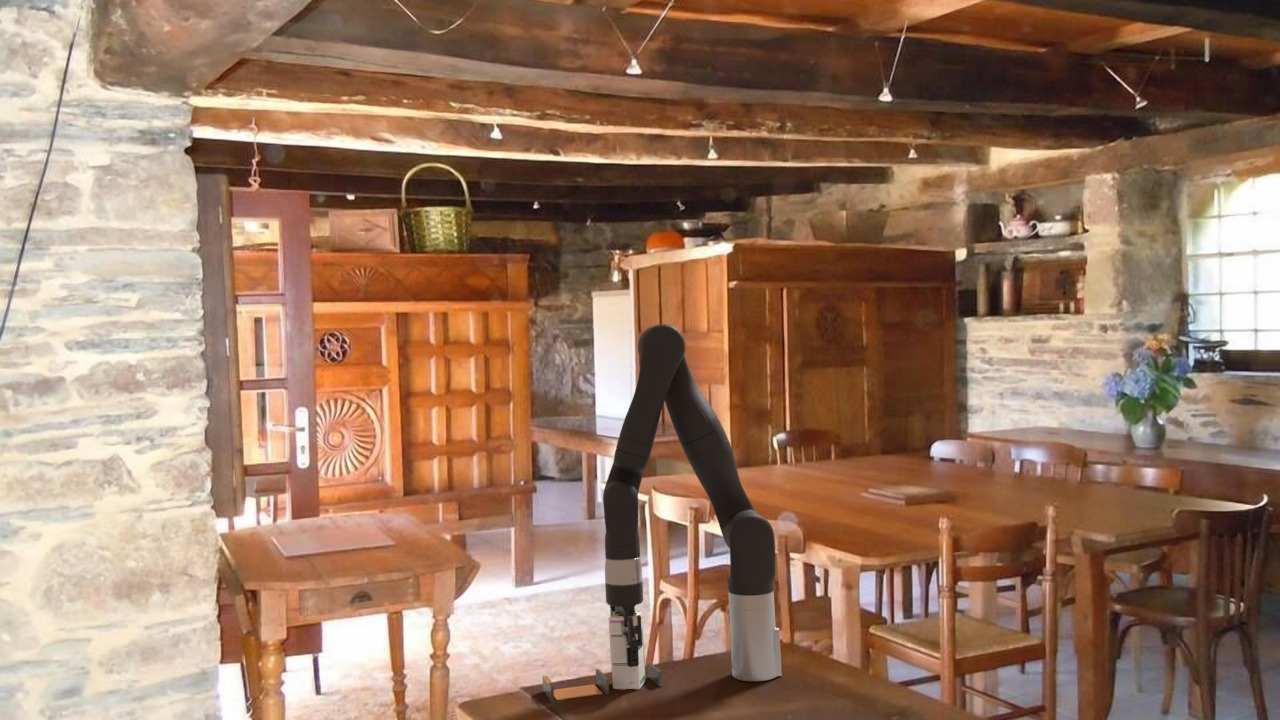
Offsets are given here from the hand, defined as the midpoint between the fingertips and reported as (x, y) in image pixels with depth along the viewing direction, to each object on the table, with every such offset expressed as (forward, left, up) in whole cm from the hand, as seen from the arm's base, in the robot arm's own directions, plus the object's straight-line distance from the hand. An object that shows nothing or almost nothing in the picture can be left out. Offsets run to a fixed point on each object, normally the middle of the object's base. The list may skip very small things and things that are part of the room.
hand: (627, 661), depth 216 cm
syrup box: (0, 0, -5) cm, 5 cm away
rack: (+5, 0, -5) cm, 7 cm away
